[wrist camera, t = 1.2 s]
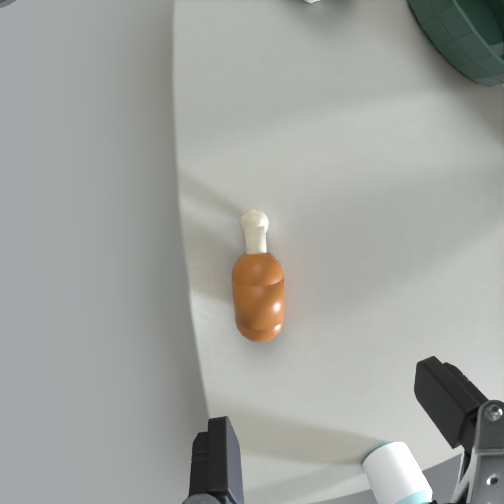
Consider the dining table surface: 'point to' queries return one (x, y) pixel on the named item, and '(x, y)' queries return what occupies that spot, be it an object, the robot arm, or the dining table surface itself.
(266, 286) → the drumstick
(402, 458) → the can
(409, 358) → the dining table surface
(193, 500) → the robot arm
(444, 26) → the green faceted bowl
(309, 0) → the pastry
